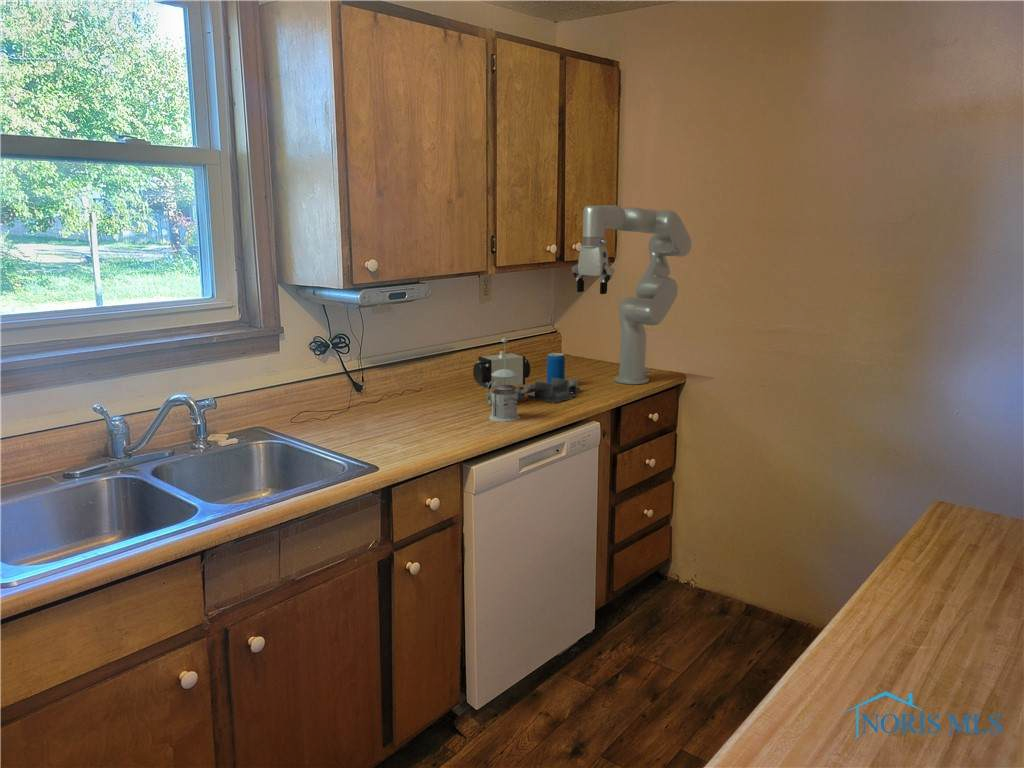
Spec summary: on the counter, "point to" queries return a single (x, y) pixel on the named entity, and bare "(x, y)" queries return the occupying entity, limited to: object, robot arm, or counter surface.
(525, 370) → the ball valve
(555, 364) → the beverage can
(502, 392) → the french press
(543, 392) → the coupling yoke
